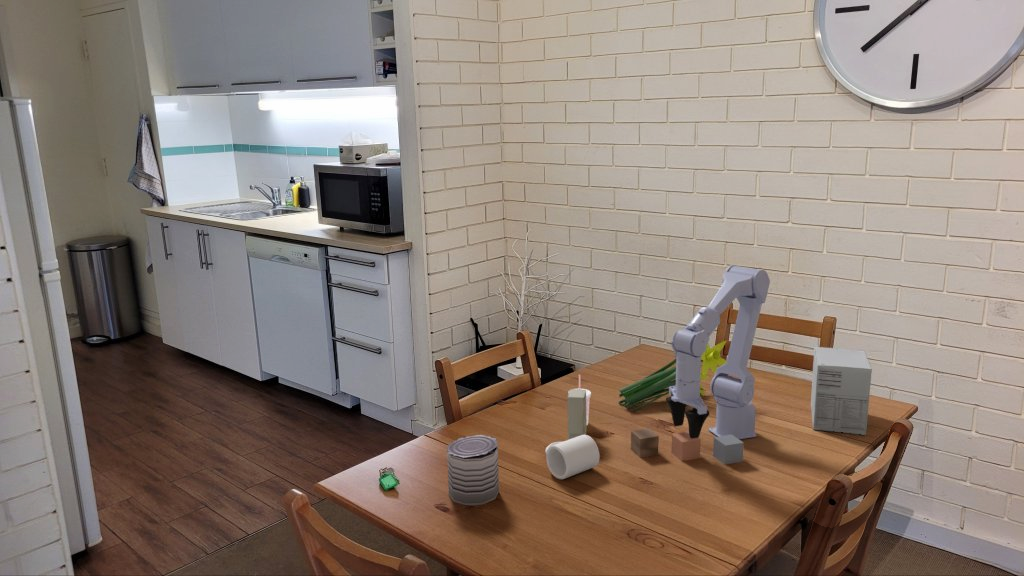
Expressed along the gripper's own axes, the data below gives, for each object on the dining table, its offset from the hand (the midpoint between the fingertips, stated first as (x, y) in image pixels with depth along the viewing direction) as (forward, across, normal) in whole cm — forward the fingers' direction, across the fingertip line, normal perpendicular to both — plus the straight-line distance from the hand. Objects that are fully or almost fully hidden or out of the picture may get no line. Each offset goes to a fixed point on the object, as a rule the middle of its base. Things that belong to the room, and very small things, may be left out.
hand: (686, 431), depth 184 cm
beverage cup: (+6, -27, -17) cm, 33 cm away
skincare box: (+7, -19, -21) cm, 29 cm away
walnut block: (+6, -5, -8) cm, 12 cm away
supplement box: (+6, -5, +49) cm, 50 cm away
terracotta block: (+6, 0, 0) cm, 6 cm away
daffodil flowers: (+7, -33, +14) cm, 36 cm away
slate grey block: (+6, +5, +9) cm, 12 cm away
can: (+7, +1, -54) cm, 54 cm away
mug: (+7, -3, -30) cm, 31 cm away
